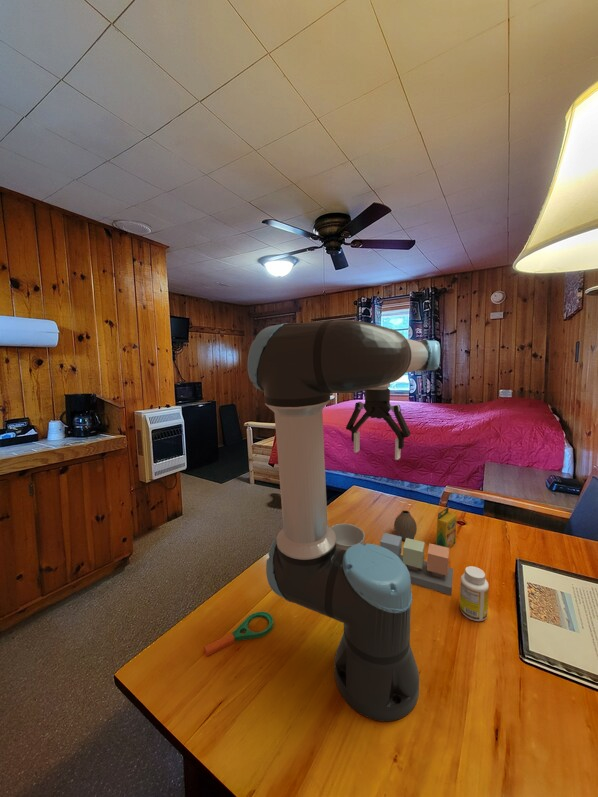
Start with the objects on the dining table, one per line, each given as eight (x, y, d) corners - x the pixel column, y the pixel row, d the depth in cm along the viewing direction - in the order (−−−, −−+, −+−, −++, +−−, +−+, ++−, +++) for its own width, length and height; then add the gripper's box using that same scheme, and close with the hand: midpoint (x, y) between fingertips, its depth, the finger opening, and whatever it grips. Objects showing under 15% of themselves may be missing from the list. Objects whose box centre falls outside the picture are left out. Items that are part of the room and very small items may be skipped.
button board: (451, 595, 79) (452, 574, 78) (374, 572, 88) (374, 553, 87) (452, 575, 86) (453, 556, 85) (381, 556, 95) (381, 538, 94)
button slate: (398, 562, 86) (398, 546, 85) (380, 557, 88) (380, 541, 87) (401, 552, 90) (401, 536, 89) (384, 548, 92) (384, 532, 92)
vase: (398, 529, 109) (398, 504, 107) (419, 535, 105) (419, 510, 103) (390, 539, 103) (391, 513, 102) (412, 546, 99) (413, 519, 98)
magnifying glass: (265, 611, 76) (265, 605, 75) (278, 629, 71) (278, 622, 70) (201, 645, 67) (200, 637, 67) (210, 667, 62) (210, 660, 62)
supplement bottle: (478, 603, 76) (480, 563, 75) (492, 622, 71) (495, 580, 69) (454, 603, 76) (456, 563, 75) (466, 623, 71) (469, 580, 69)
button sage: (421, 568, 83) (422, 552, 82) (402, 563, 85) (403, 547, 85) (424, 558, 87) (424, 542, 87) (405, 553, 89) (406, 537, 89)
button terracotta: (447, 575, 80) (448, 558, 80) (426, 570, 82) (427, 553, 82) (448, 564, 84) (449, 548, 84) (428, 559, 87) (429, 543, 86)
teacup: (362, 547, 99) (362, 523, 98) (366, 571, 88) (366, 544, 87) (317, 546, 100) (317, 522, 99) (315, 569, 90) (315, 542, 88)
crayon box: (445, 554, 95) (446, 517, 93) (435, 549, 97) (436, 513, 95) (455, 544, 100) (457, 508, 98) (446, 540, 102) (447, 505, 100)
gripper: (422, 388, 95) (420, 458, 97) (346, 385, 109) (346, 446, 112) (415, 391, 89) (413, 465, 91) (335, 387, 103) (335, 451, 106)
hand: (376, 455), depth 102 cm, fingers open, 13 cm apart
